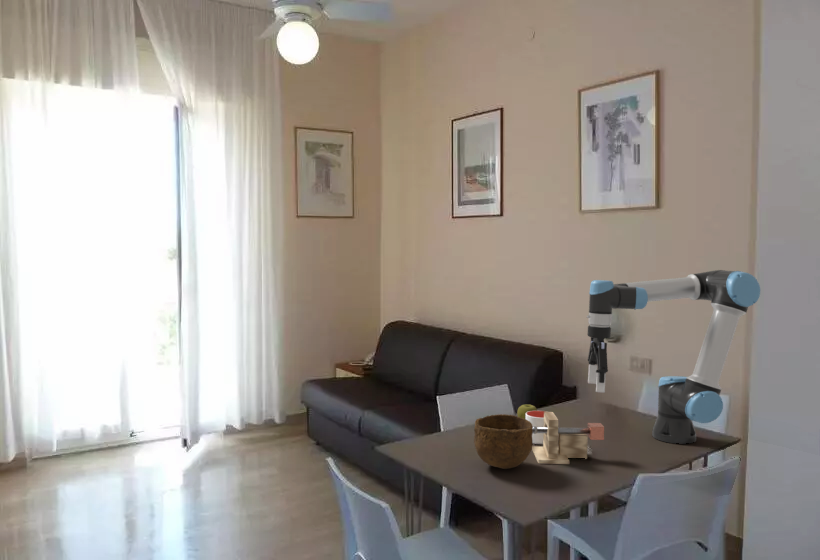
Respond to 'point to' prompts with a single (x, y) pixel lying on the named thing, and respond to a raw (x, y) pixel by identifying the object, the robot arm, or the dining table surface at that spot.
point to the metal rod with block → (578, 431)
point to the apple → (525, 410)
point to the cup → (536, 424)
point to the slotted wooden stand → (559, 444)
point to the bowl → (503, 440)
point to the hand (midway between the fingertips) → (596, 387)
